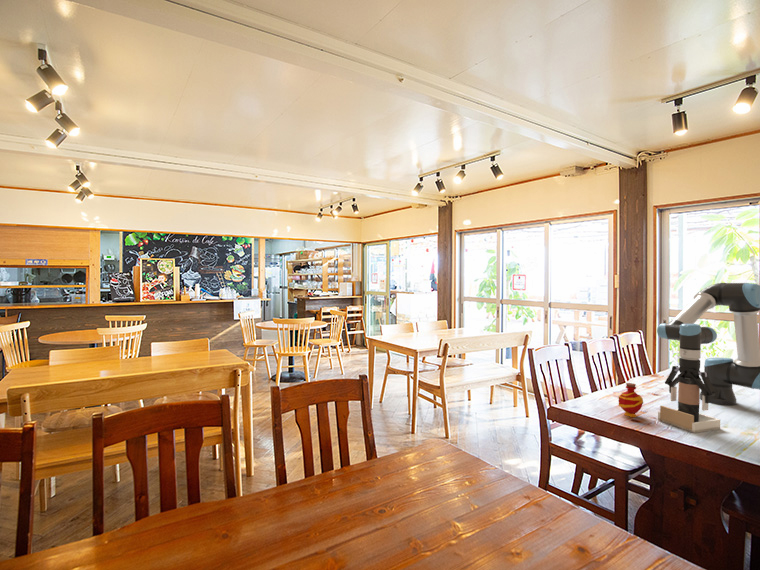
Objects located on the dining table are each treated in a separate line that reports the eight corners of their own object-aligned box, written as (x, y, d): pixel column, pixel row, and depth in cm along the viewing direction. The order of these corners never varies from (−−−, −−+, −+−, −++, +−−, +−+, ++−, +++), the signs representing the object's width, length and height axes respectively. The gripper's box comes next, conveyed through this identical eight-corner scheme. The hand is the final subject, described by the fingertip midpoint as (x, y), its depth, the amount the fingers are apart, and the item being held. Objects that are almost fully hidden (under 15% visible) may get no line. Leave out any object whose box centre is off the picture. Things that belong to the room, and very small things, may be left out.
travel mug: (702, 425, 176) (703, 379, 175) (683, 423, 177) (684, 378, 177) (693, 419, 183) (694, 375, 183) (674, 417, 185) (675, 374, 184)
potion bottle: (635, 420, 185) (635, 388, 185) (613, 413, 194) (613, 382, 194) (648, 416, 190) (648, 385, 190) (626, 410, 199) (626, 380, 199)
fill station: (682, 416, 190) (682, 402, 190) (720, 428, 175) (720, 412, 175) (657, 420, 185) (658, 405, 185) (694, 433, 170) (694, 416, 170)
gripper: (656, 353, 190) (655, 398, 191) (714, 364, 167) (713, 415, 167) (668, 352, 193) (667, 396, 193) (726, 363, 169) (725, 413, 169)
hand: (688, 405), depth 180 cm, fingers open, 13 cm apart
